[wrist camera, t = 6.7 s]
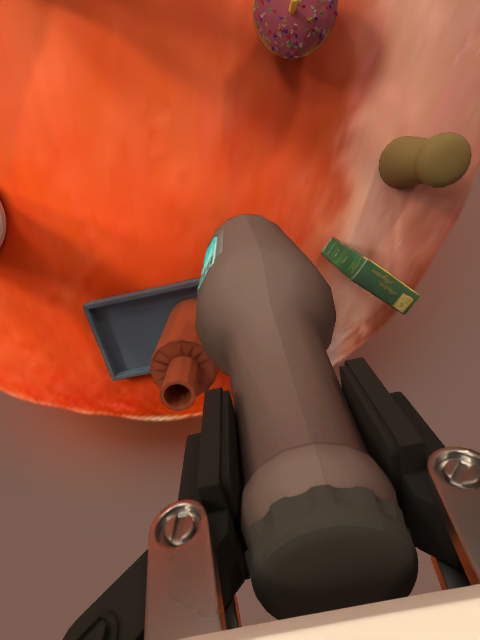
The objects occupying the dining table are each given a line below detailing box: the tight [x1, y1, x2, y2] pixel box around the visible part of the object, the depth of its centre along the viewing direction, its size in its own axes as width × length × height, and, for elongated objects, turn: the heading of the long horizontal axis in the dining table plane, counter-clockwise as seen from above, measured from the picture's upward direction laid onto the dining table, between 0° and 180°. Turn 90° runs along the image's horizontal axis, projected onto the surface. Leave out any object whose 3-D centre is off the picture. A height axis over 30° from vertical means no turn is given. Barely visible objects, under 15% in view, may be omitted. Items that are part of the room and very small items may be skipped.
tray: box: [83, 277, 201, 381], centre depth 52 cm, size 28×12×2 cm, turn 102°
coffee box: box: [321, 237, 419, 314], centre depth 45 cm, size 8×3×13 cm, turn 56°
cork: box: [379, 132, 471, 188], centre depth 41 cm, size 6×6×11 cm
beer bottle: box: [195, 214, 418, 620], centre depth 21 cm, size 8×8×30 cm
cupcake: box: [253, 0, 338, 59], centre depth 35 cm, size 9×8×12 cm
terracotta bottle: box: [150, 298, 217, 411], centre depth 44 cm, size 7×7×19 cm
